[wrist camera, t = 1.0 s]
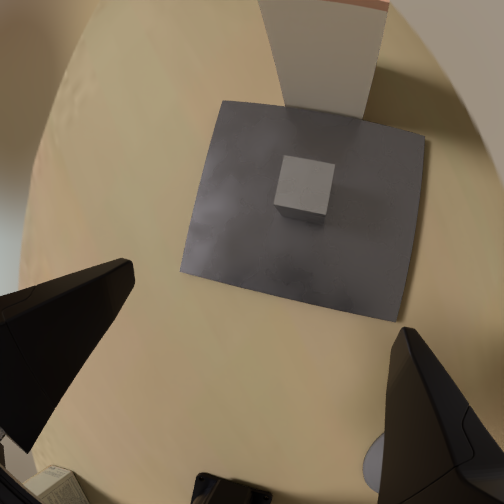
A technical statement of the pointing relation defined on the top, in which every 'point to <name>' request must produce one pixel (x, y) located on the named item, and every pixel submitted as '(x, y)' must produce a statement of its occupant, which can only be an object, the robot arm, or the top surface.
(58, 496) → the skincare box
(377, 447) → the slate coaster
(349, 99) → the pink-topped tall block
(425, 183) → the top surface
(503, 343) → the top surface
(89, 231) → the top surface
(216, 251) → the post plate
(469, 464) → the robot arm
